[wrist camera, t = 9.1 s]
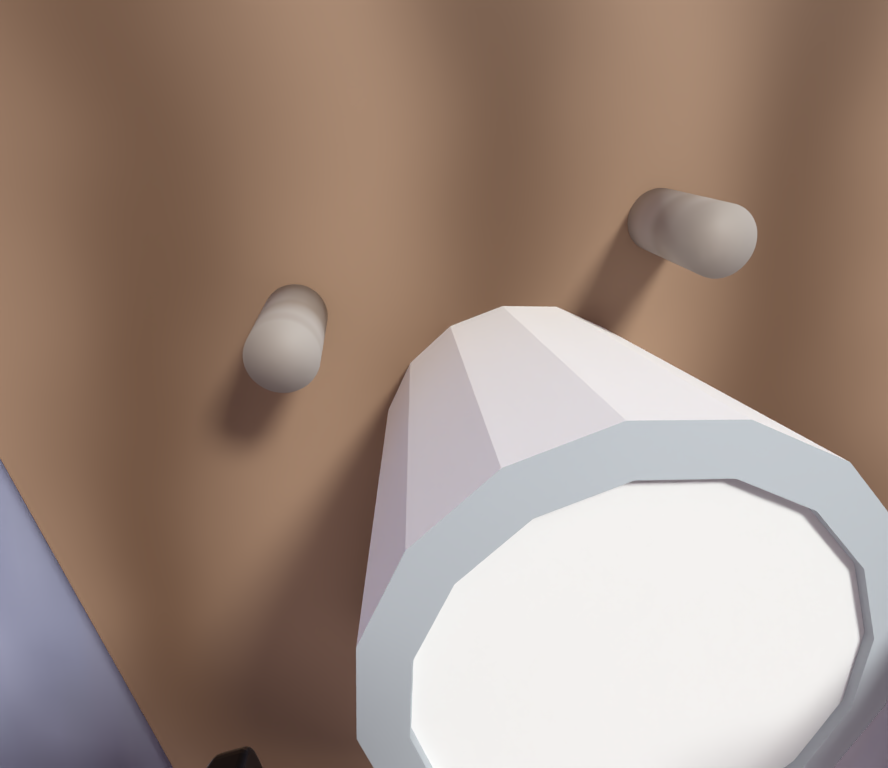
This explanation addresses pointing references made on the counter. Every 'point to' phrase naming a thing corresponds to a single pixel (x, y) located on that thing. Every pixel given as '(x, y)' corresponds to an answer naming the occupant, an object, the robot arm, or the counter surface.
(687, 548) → the shot glass
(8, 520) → the counter surface
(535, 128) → the pin plate
